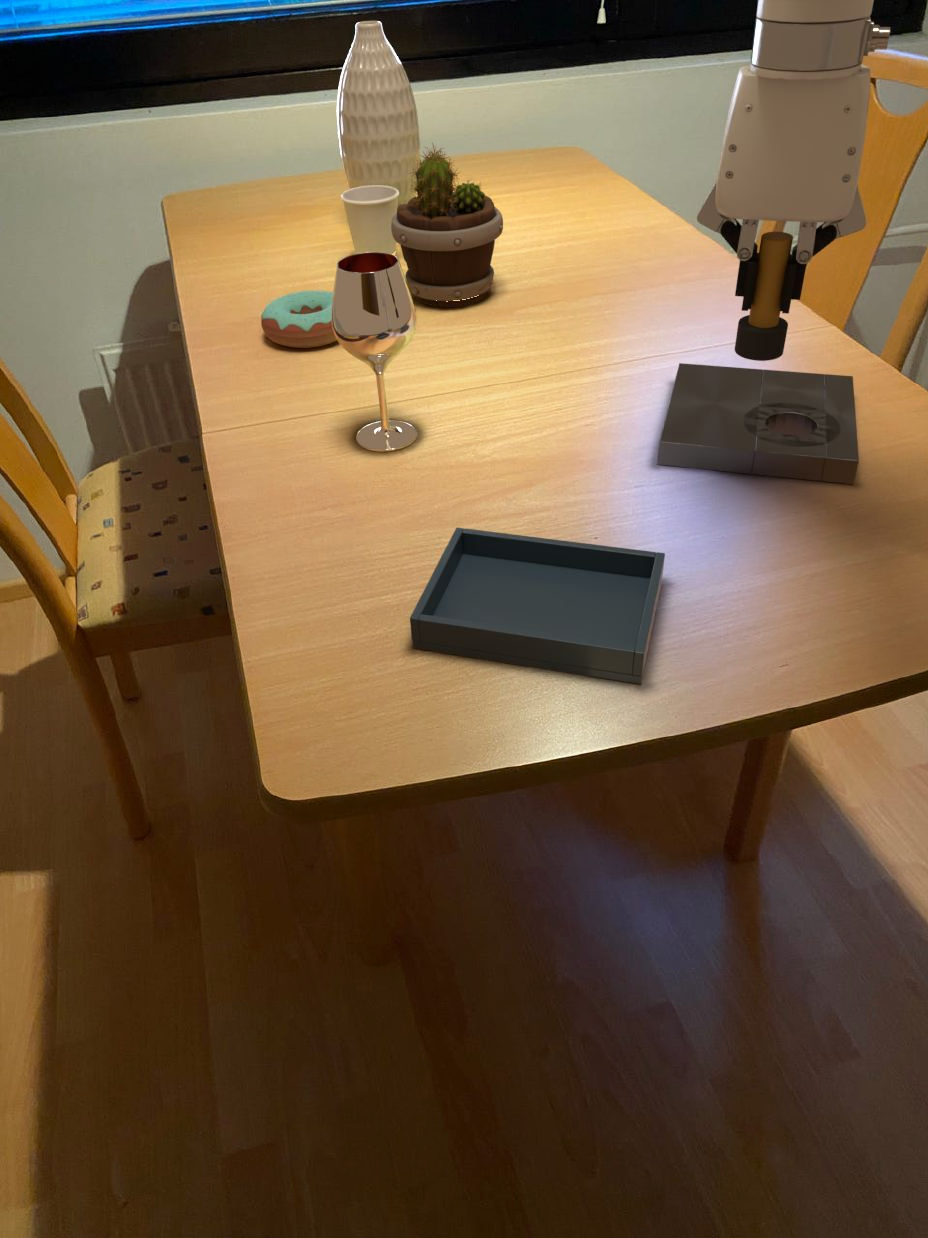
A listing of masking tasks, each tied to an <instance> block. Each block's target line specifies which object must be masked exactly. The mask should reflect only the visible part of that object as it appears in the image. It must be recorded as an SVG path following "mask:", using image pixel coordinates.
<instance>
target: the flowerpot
mask: <svg viewBox="0 0 928 1238" xmlns="http://www.w3.org/2000/svg"><path fill="white" fill-rule="evenodd" d="M424 148H425V149H427V150H426V153H425V151H422V152H423V154H424V155H421V154H420V155H419V156H420V157H422V158H423V159H420V161H419V162H420V163H419V162H418V163H419V164H420V167H417V168H418V170H417V171H414V172H415V174H416V177H415V178H417V179H416V181H417V183H415V182H416V181H415V182H413V181H412V182H413V183H415V184H414V185H416V186H415V187H413V186H414V185H413V186H412V187H413V188H411V189H413V190H412V191H413V192H414V191H415V192H414V193H415V196H414V195H413V194H412V195H413V196H414V197H413V198H412V199H410V200H409V202H408V203H407V204H401V205H399V206H398V207H397V213H396V214H394V216H393V217H392V223H391V230H392V235H393V238H394V240H395V241H396V244H398V245H400V250H401V253H402V256H403V260H404V262H405V264H406V267H407V271H406V272H405V274H404V276H405V279H406V282H407V285H408V288H409V291H410V293H411V294H413V295H414V297H415V299H416V300H417V301H419V302H420V303H422V304H425V305H429V306H434V307H438V306H439V307H440V308H457V307H464V306H468V305H471V304H472V303H477V302H479V301H481V300H483V299H484V298H485V296H486V294H487V292H488V290H489V289H490V288H491V287H492V285H493V284H494V276H495V271H494V267H493V266H492V265H491V263H492V260H493V254H494V249H495V242H496V240H497V239H498V238H499V237H500V236H501V235H502V233H503V230H504V217H503V215H502V213H501V211H500V210H499V209H498V208H497V207H496V206H495V203H494V201H493V200H492V198H491V197H490V196H487V195H486V194H485V192H484V191H482V186H481V185H482V181H481V180H479V184H475V182H476V180H477V179H476V178H475V179H474V180H473V182H471V180H472V177H470V178H469V179H467V180H466V178H465V181H466V182H461V184H459V179H460V178H459V177H458V174H460V173H461V171H460V172H457V170H458V167H457V169H456V168H454V167H453V166H454V164H453V162H455V160H453V161H452V158H451V156H449V158H448V156H447V155H448V154H446V151H444V152H443V151H442V150H443V149H444V147H442V148H441V147H439V149H438V150H437V146H435V145H434V143H433V141H432V149H431V150H430V149H429V148H428V147H427V146H424ZM432 150H433V151H432ZM445 156H446V157H445ZM417 161H418V160H417ZM419 164H417V165H418V166H419ZM415 166H416V165H415ZM455 169H456V170H455ZM413 170H415V169H413ZM414 172H413V173H414ZM409 174H410V173H409ZM415 174H413V175H412V176H411V177H413V176H414V175H415ZM411 179H412V178H411ZM456 181H457V184H456ZM410 186H411V185H410ZM477 295H479V296H477ZM474 296H477V297H474ZM471 297H473V298H471ZM467 298H470V299H467ZM462 299H466V300H462ZM436 300H437V301H436ZM453 300H460V301H453ZM446 301H448V302H446Z"/></svg>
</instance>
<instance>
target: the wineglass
mask: <svg viewBox="0 0 928 1238" xmlns="http://www.w3.org/2000/svg"><path fill="white" fill-rule="evenodd" d="M335 268H336V269H335V274H334V275H335V276H334V281H333V282H334V283H333V291H332V292H333V298H332V309H331V325H332V330H333V333H334V335H335V337H336V339H337V341H336V342H337V343H338V344H339V345H340V346H341V348H342V349H344V350H345V351H346V353H348V354H349V355H351V356H352V357H354V358H355V359H357V360H358V361H360V362H362V363H364V364H365V365H366V366H367V367H368V368H370V369H371V370H372V372H373V373H374V374H375V378H376V379H375V380H376V386H377V396H378V405H379V417H380V421H376V422H372V423H370V424H367V425H365V426H363V427H362V428H360V429H359V431H358V432H357V433H356V436H355V440H356V442H357V444H358V446H360V448H363V449H364V450H368V451H372V452H380V453H385V452H393V451H398V450H402V449H404V448H407V447H408V446H410V445H412V444H413V443H414V442H415V441H416V439H417V437H418V431H417V429H416V427H415V426H414V425H412V424H410V423H408V422H406V421H401V420H393V419H392V420H390V417H389V411H388V410H389V409H388V400H387V391H386V381H385V372H386V370H387V369H388V367H389V365H390V364H391V363H392V362H393V361H394V360H395V359H396V358H397V357H398V356H400V355H401V354H402V352H403V351H404V350H405V349H407V347H408V346H409V344H410V343H411V341H412V340H413V337H414V336H415V333H416V332H415V331H416V329H417V323H418V322H417V319H418V317H417V312H416V306H415V303H414V301H413V298H412V297H413V296H412V293H411V291H410V289H409V287H408V284H407V281H406V276H405V274H404V271H403V268H402V266H401V263H400V260H399V258H398V257H397V255H396V256H394V255H392V254H388V253H382V252H366V253H359V254H355V253H354V254H351V255H348V256H345V257H342V258H341V259H339V260H338V261H337V263H336V267H335Z"/></svg>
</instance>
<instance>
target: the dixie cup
mask: <svg viewBox="0 0 928 1238" xmlns="http://www.w3.org/2000/svg"><path fill="white" fill-rule="evenodd" d="M398 196H399V191H398V190H397V189H396V188H393V187H390V186H383V185H369V186H361V187H356V188H352V189H350V188H348V189H347V190H344V191H343V192H342V193H341V195H340V199H341V201H342V203H343V207H344V211H345V215H346V220H347V224H348V228H349V233H350V237H351V241H352V246H353V248H354V250H353V251H354V254H359V253H366V252H382V253H388V254H393V253H394V252H395V251H396V252H397V242H396V241H395V240H394V238H393V235H392V230H391V223H392V217H393V216H394V214H396V213H397V204H398Z"/></svg>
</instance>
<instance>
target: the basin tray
mask: <svg viewBox="0 0 928 1238" xmlns="http://www.w3.org/2000/svg"><path fill="white" fill-rule="evenodd" d="M665 557H666V553H665V552H658V551H657V552H656V551H650V550H643V549H633V548H626V547H617V546H611V545H603V544H593V543H586V542H577V541H569V540H561V539H555V538H545V537H537V536H531V535H530V536H529V535H522V534H513V533H506V532H498V531H497V532H496V531H489V530H481V529H474V528H464V527H455V529H454V532H453V533H452V535H451V537H450V539H449V541H448V543H447V545H446V547H445V548H444V551H443V553H442V554H441V557H440V559H439V560H438V562H437V564H436V566H435V568H434V571H433V572H432V574H431V575H430V578H429V580H428V582H427V584H426V585H425V588H424V590H423V591H422V594H421V596H420V597H419V599H418V601H417V603H416V605H415V607H414V608H413V611H412V613H411V615H410V617H409V625H410V632H411V642H412V643H411V644H412V648H413V649H418V650H424V651H429V652H436V653H442V654H449V655H455V656H462V657H468V658H473V659H481V660H486V661H493V662H499V663H503V664H505V663H506V664H510V665H519V666H524V667H530V668H536V669H543V670H548V671H556V672H562V673H568V674H575V675H581V676H588V677H592V678H598V679H599V678H600V679H607V680H612V681H619V682H625V683H631V684H636V685H641V684H642V682H643V678H644V673H645V667H646V662H647V657H648V652H649V647H650V642H651V637H652V632H653V628H654V623H655V619H656V618H655V617H656V613H657V607H658V603H659V598H660V594H661V589H662V584H663V575H664V567H665V566H664V565H665Z"/></svg>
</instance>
